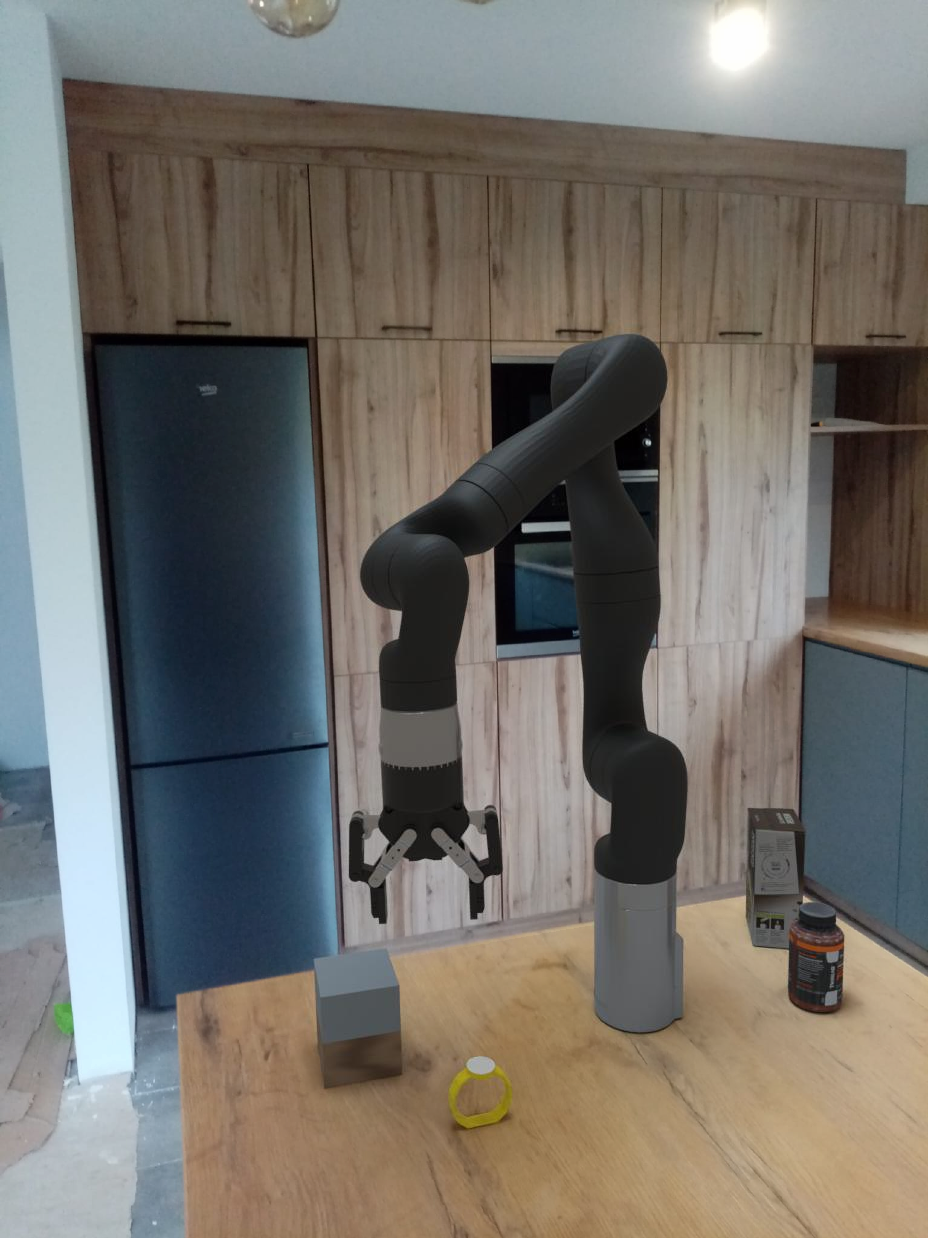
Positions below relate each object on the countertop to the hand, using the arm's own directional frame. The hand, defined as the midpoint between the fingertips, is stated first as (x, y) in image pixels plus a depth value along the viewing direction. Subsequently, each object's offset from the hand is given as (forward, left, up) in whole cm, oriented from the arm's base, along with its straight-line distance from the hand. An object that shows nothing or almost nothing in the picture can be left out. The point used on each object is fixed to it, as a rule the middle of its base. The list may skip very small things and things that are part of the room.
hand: (428, 918), depth 83 cm
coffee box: (-52, -22, -20) cm, 60 cm away
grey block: (+6, -10, -15) cm, 19 cm away
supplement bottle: (-47, -6, -20) cm, 51 cm away
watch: (-4, +3, -20) cm, 21 cm away
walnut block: (+6, -10, -20) cm, 23 cm away
